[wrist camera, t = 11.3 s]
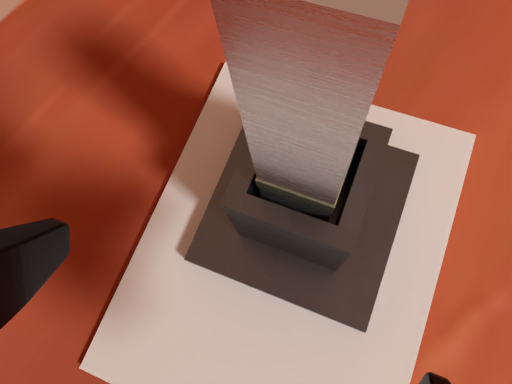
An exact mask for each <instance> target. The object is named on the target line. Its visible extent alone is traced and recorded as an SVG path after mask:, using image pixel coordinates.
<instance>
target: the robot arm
mask: <svg viewBox="0 0 512 384" xmlns="http://www.w3.org/2000/svg"><path fill="white" fill-rule="evenodd" d="M69 252H70V229H69V226H68V224H67V223H65V222H63V221H60V220H58V219H55V218H50V219H45V220H41V221H36V222H31V223H27V224H22V225H17V226H13V227H8V228H3V229H0V329H1V328H2V327H3V326H4V325H5V324H7V323H8V322H9V321H10V320H11V319H12V318H13V317H14V316H15V315H16V314H17V313H18V312H19V311H20V310H21V309H22V308H23V307H24V306H25V305H26V304H27V303H28V302H29V301H30V300H31V298H32V297H33V296H34V295H35V294H36V293H37V292H38V290H39V289H40V288H41V287H42V286H43V285H44V283H45V282H46V281H47V280H48V279H49V278H50V277H51V275H52V274H53V273H54V272H55V271H56V270H57V268H58V267H59V266H60V265H61V264H62V263H63V261H64V260H65V259H66V258H67V256H68V254H69ZM419 384H451V383H450V381H449V380H448V379H446V378H444V377H442V376H439V375H437V374H434V373H432V372H428V373H426V374H425V375H424V377H423V378H422V380H421V381H420V383H419Z"/></svg>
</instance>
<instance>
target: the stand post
mask: <svg viewBox="0 0 512 384" xmlns="http://www.w3.org/2000/svg"><path fill="white" fill-rule="evenodd" d="M408 2H409V0H211V4H212V8H213V12H214V15H215V19H216V23H217V27H218V31H219V35H220V39H221V42H222V46H223V50H224V54H225V58H226V62H227V66H228V70H229V73H230V77H231V81H232V85H233V89H234V93H235V97H236V100H237V104H238V108H239V112H240V116H241V120H242V124H243V128H244V131H245V135H246V139H247V143H248V147H249V151H250V155H251V158H252V162H253V166H254V170H255V174H256V180H255V181H256V185H257V187H259V189H260V193H261V197H262V199H263V200H266V201H269V202H272V203H275V204H277V205H280V206H283V207H286V208H289V209H292V210H294V211H297V212H300V213H303V214H306V215H308V216H311V217H314V218H317V219H320V220H322V221H325V222H328V221H329V218H330V215H331V213H333V211H334V208H335V206H336V203H337V200H338V197H339V194H340V191H341V189H342V186H343V183H344V180H345V177H346V174H347V172H348V169H349V166H350V163H351V160H352V157H353V155H354V152H355V149H356V146H357V143H358V140H359V137H360V135H361V131H362V128H363V125H364V123H365V120H366V117H367V114H368V112H369V109H370V106H371V104H372V101H373V98H374V95H375V93H376V90H377V87H378V84H379V82H380V79H381V76H382V74H383V71H384V68H385V65H386V63H387V60H388V57H389V55H390V52H391V49H392V46H393V44H394V41H395V38H396V35H397V33H398V30H399V27H400V25H401V22H402V19H403V16H404V13H405V10H406V7H407V5H408Z"/></svg>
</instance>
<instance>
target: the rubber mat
mask: <svg viewBox="0 0 512 384" xmlns="http://www.w3.org/2000/svg"><path fill="white" fill-rule="evenodd" d="M365 121H368V122H372V123H375V124H378V125H382V126H385V127H388V128H392V129H393V130H392V133H391V136H390V139H389V143H388V145H390V146H393V147H396V148H399V149H403V150H406V151H409V152H412V153H416V154H419V155H420V156H419V159H418V163H417V166H416V169H415V173H414V176H413V179H412V183H411V186H410V189H409V192H408V196H407V199H406V202H405V206H404V209H403V212H402V215H401V219H400V222H399V225H398V229H397V232H396V235H395V239H394V242H393V245H392V248H391V252H390V255H389V258H388V262H387V265H386V268H385V271H384V275H383V278H382V281H381V285H380V288H379V291H378V295H377V298H376V301H375V304H374V308H373V311H372V314H371V318H370V321H369V324H368V327H367V331H366V333H364V332H361V331H358V330H356V329H353V328H351V327H348V326H346V325H343V324H341V323H338V322H336V321H333V320H331V319H328V318H326V317H324V316H321V315H319V314H316V313H314V312H311V311H309V310H306V309H304V308H301V307H299V306H296V305H294V304H291V303H289V302H286V301H284V300H281V299H279V298H277V297H274V296H272V295H269V294H267V293H264V292H262V291H259V290H257V289H254V288H252V287H249V286H247V285H244V284H242V283H239V282H237V281H234V280H232V279H230V278H227V277H225V276H222V275H220V274H217V273H215V272H212V271H210V270H207V269H205V268H202V267H200V266H197V265H195V264H192V263H190V262H188V261H186V260H184V258H185V256H186V253H187V251H188V249H189V247H190V244H191V242H192V240H193V238H194V235H195V233H196V231H197V228H198V226H199V224H200V222H201V219H202V217H203V215H204V213H205V210H206V208H207V206H208V204H209V201H210V199H211V197H212V194H213V192H214V190H215V188H216V185H217V183H218V181H219V179H220V176H221V174H222V172H223V170H224V167H225V165H226V163H227V161H228V158H229V156H230V154H231V151H232V149H233V147H234V145H235V142H236V140H237V138H238V136H239V133H240V131H241V129H242V127H243V124H242V120H241V116H240V112H239V108H238V104H237V100H236V97H235V93H234V89H233V85H232V81H231V77H230V73H229V70H228V66H227V62H225V63H224V65H223V68H222V70H221V72H220V74H219V76H218V78H217V80H216V82H215V84H214V86H213V88H212V91H211V93H210V95H209V97H208V99H207V101H206V103H205V105H204V107H203V109H202V112H201V114H200V116H199V118H198V120H197V122H196V124H195V126H194V128H193V130H192V133H191V135H190V137H189V139H188V141H187V143H186V145H185V147H184V149H183V151H182V153H181V156H180V158H179V160H178V162H177V164H176V166H175V168H174V170H173V172H172V174H171V177H170V179H169V181H168V183H167V185H166V187H165V189H164V191H163V193H162V195H161V198H160V200H159V202H158V204H157V206H156V208H155V210H154V212H153V214H152V216H151V219H150V221H149V223H148V225H147V227H146V229H145V231H144V233H143V235H142V237H141V239H140V242H139V244H138V246H137V248H136V250H135V252H134V254H133V256H132V258H131V260H130V263H129V265H128V267H127V269H126V271H125V273H124V275H123V277H122V279H121V281H120V284H119V286H118V288H117V290H116V292H115V294H114V296H113V298H112V300H111V302H110V304H109V307H108V309H107V311H106V313H105V315H104V317H103V319H102V321H101V323H100V325H99V328H98V330H97V332H96V334H95V336H94V338H93V340H92V342H91V344H90V346H89V349H88V351H87V353H86V355H85V357H84V359H83V361H82V363H81V365H80V367H79V368H80V369H82V370H84V371H86V372H88V373H90V374H92V375H94V376H96V377H98V378H100V379H102V380H104V381H106V382H108V383H110V384H410V381H411V377H412V373H413V370H414V366H415V362H416V358H417V355H418V351H419V347H420V343H421V340H422V336H423V332H424V328H425V325H426V321H427V317H428V313H429V310H430V306H431V302H432V298H433V295H434V291H435V287H436V283H437V280H438V276H439V272H440V268H441V265H442V261H443V257H444V253H445V250H446V246H447V242H448V238H449V235H450V231H451V227H452V223H453V220H454V216H455V212H456V208H457V205H458V201H459V197H460V193H461V190H462V186H463V182H464V178H465V175H466V171H467V167H468V163H469V160H470V156H471V152H472V148H473V145H474V141H475V137H476V135H474V134H471V133H467V132H464V131H461V130H457V129H454V128H450V127H447V126H443V125H440V124H437V123H433V122H430V121H426V120H423V119H419V118H416V117H413V116H409V115H406V114H402V113H399V112H395V111H392V110H388V109H385V108H382V107H378V106H375V105H371V106H370V109H369V112H368V114H367V117H366V120H365Z"/></svg>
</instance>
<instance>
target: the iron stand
mask: <svg viewBox="0 0 512 384" xmlns="http://www.w3.org/2000/svg"><path fill="white" fill-rule="evenodd" d="M392 130H393V129H392V128H388V127H385V126H382V125H378V124H375V123H372V122H368V121H365V123H364V125H363V128H362V131H361V135H360V137H359V140H358V143H357V146H356V149H355V152H354V155H353V157H352V160H351V163H350V166H349V169H348V172H347V174H346V177H345V180H344V183H343V186H342V189H341V191H340V194H339V197H338V200H337V203H336V206H335V208H334V211H333V213H331V215H330V218H329V221H328V222H325V221H322V220H320V219H317V218H314V217H311V216H308V215H306V214H303V213H300V212H297V211H294V210H292V209H289V208H286V207H283V206H280V205H277V204H275V203H272V202H269V201H266V200H263V199H262V197H261V193H260V189H259V187H257V185H256V181H255V180H256V174H255V170H254V166H253V162H252V158H251V155H250V151H249V147H248V143H247V139H246V135H245V131H244V128H243V127H242V129H241V131H240V133H239V136H238V138H237V140H236V142H235V145H234V147H233V149H232V151H231V154H230V156H229V158H228V161H227V163H226V165H225V167H224V170H223V172H222V174H221V176H220V179H219V181H218V183H217V185H216V188H215V190H214V192H213V194H212V197H211V199H210V201H209V204H208V206H207V208H206V210H205V213H204V215H203V217H202V219H201V222H200V224H199V226H198V228H197V231H196V233H195V235H194V238H193V240H192V242H191V244H190V247H189V249H188V251H187V253H186V256H185V258H184V260H186V261H188V262H190V263H192V264H195V265H197V266H200V267H202V268H205V269H207V270H210V271H212V272H215V273H217V274H220V275H222V276H225V277H227V278H230V279H232V280H234V281H237V282H239V283H242V284H244V285H247V286H249V287H252V288H254V289H257V290H259V291H262V292H264V293H267V294H269V295H272V296H274V297H277V298H279V299H281V300H284V301H286V302H289V303H291V304H294V305H296V306H299V307H301V308H304V309H306V310H309V311H311V312H314V313H316V314H319V315H321V316H324V317H326V318H328V319H331V320H333V321H336V322H338V323H341V324H343V325H346V326H348V327H351V328H353V329H356V330H358V331H361V332H364V333H366V331H367V327H368V324H369V321H370V318H371V314H372V311H373V308H374V304H375V301H376V298H377V295H378V291H379V288H380V285H381V281H382V278H383V275H384V271H385V268H386V265H387V262H388V258H389V255H390V252H391V248H392V245H393V242H394V239H395V235H396V232H397V229H398V225H399V222H400V219H401V215H402V212H403V209H404V206H405V202H406V199H407V196H408V192H409V189H410V186H411V183H412V179H413V176H414V173H415V169H416V166H417V163H418V159H419V156H420V155H419V154H416V153H412V152H409V151H406V150H403V149H399V148H396V147H393V146H390V145H388V143H389V139H390V136H391V133H392Z"/></svg>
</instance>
